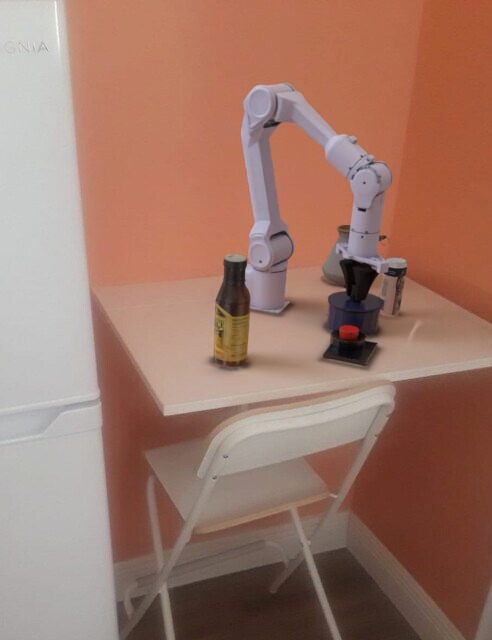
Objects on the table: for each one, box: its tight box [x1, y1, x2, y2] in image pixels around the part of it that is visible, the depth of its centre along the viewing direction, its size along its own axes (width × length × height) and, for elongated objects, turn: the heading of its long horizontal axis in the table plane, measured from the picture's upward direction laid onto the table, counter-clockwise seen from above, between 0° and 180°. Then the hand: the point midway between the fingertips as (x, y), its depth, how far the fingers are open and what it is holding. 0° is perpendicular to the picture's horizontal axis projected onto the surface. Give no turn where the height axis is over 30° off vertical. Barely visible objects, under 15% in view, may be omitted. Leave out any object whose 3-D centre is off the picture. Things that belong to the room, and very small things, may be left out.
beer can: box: [378, 256, 408, 317], centre depth 150 cm, size 5×5×12 cm
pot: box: [326, 303, 381, 336], centre depth 144 cm, size 10×10×5 cm
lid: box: [327, 282, 384, 312], centre depth 141 cm, size 11×11×4 cm
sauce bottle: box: [213, 253, 251, 368], centre depth 124 cm, size 7×6×20 cm
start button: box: [339, 325, 359, 340], centre depth 134 cm, size 4×4×2 cm
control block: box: [322, 329, 379, 367], centre depth 133 cm, size 10×8×3 cm
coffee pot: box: [321, 224, 391, 287], centre depth 164 cm, size 21×12×15 cm, turn 19°
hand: (355, 297), depth 142 cm, fingers closed on lid, 2 cm apart
